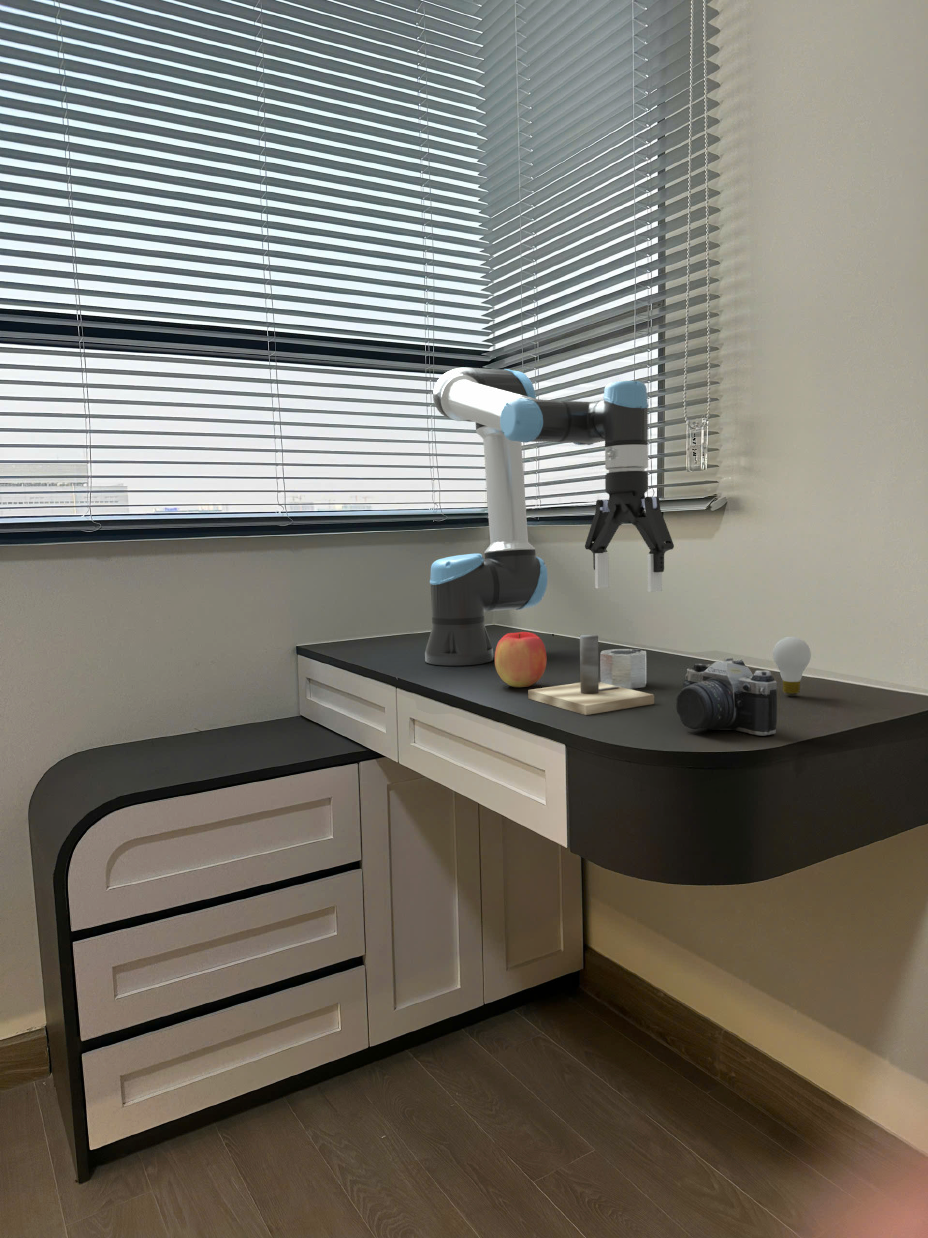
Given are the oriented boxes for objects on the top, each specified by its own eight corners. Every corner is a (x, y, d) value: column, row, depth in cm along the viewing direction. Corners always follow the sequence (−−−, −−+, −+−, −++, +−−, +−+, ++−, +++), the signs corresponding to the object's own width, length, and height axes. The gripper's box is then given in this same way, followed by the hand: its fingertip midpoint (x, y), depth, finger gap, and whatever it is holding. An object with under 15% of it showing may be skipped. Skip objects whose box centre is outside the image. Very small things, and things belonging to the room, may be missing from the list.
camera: (650, 724, 127) (649, 657, 126) (701, 715, 132) (701, 650, 131) (731, 746, 114) (732, 671, 113) (785, 735, 119) (785, 663, 118)
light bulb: (764, 695, 145) (765, 636, 144) (791, 691, 148) (792, 633, 147) (790, 701, 140) (791, 640, 139) (818, 697, 142) (819, 637, 141)
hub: (592, 683, 160) (592, 650, 159) (626, 679, 164) (625, 646, 163) (620, 690, 153) (620, 655, 152) (655, 685, 157) (654, 651, 156)
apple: (492, 683, 163) (490, 630, 162) (541, 681, 164) (540, 629, 163) (498, 692, 154) (497, 637, 153) (551, 690, 155) (550, 635, 154)
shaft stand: (528, 698, 148) (527, 635, 147) (593, 689, 155) (592, 628, 154) (585, 715, 134) (584, 645, 133) (654, 703, 141) (653, 637, 140)
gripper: (565, 475, 162) (567, 587, 164) (662, 465, 141) (663, 594, 144) (595, 475, 166) (596, 585, 168) (694, 465, 145) (694, 591, 148)
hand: (627, 589), depth 156 cm, fingers open, 13 cm apart
